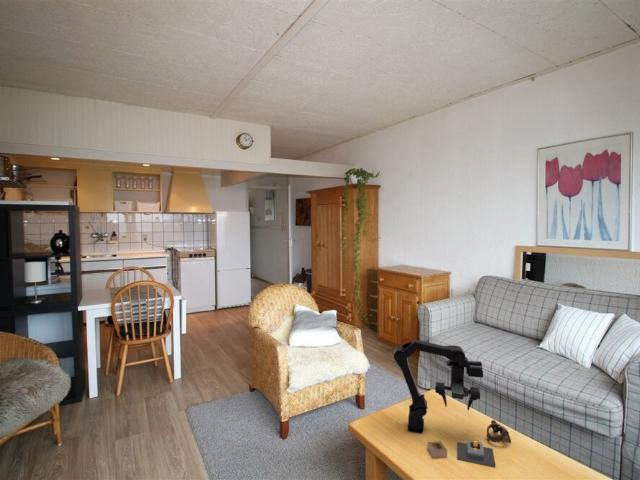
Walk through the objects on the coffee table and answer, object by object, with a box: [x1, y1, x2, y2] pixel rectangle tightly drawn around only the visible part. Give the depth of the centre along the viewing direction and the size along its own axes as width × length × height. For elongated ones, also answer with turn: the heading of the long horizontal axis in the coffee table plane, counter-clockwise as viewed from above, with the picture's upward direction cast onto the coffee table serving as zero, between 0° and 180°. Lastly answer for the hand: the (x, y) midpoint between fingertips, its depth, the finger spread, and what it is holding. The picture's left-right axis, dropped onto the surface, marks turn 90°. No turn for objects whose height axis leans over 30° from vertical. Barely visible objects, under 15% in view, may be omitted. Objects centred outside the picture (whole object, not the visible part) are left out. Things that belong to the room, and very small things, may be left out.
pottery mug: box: [486, 419, 512, 443], centre depth 157 cm, size 12×10×8 cm
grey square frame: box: [466, 439, 484, 459], centre depth 147 cm, size 6×6×3 cm
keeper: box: [456, 439, 496, 468], centre depth 147 cm, size 14×10×6 cm
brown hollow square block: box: [426, 440, 448, 459], centre depth 149 cm, size 6×6×3 cm
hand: (456, 408), depth 160 cm, fingers open, 9 cm apart
